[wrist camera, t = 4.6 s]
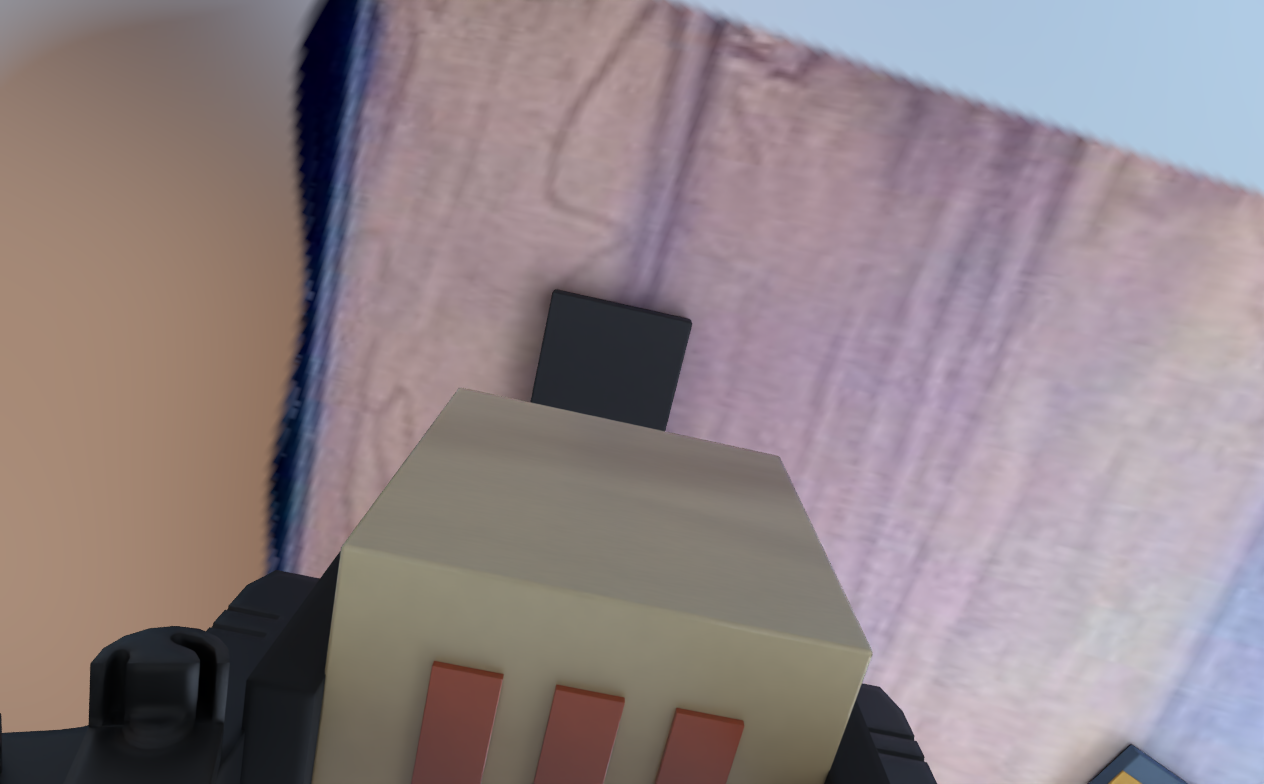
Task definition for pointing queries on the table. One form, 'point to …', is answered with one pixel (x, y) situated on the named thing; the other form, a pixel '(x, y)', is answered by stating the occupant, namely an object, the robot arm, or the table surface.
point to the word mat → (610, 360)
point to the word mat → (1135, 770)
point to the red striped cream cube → (584, 613)
